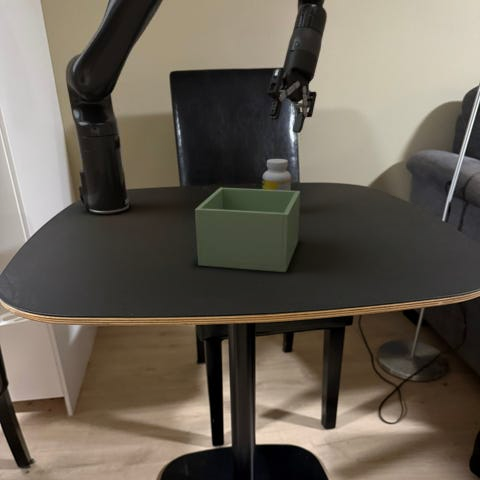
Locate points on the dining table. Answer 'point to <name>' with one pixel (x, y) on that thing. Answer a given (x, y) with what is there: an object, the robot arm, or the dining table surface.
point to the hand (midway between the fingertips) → (285, 125)
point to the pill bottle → (277, 175)
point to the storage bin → (248, 229)
